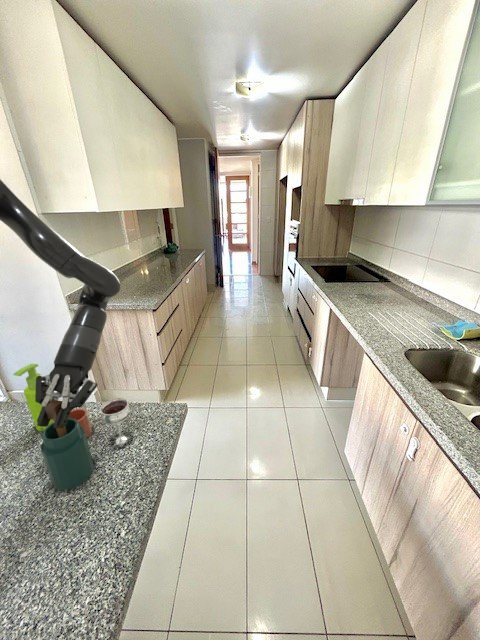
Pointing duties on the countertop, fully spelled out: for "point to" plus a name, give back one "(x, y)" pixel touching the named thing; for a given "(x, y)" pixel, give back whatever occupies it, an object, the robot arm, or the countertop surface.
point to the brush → (55, 415)
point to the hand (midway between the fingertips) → (50, 426)
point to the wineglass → (115, 414)
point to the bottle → (67, 455)
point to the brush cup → (82, 420)
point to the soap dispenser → (32, 393)
